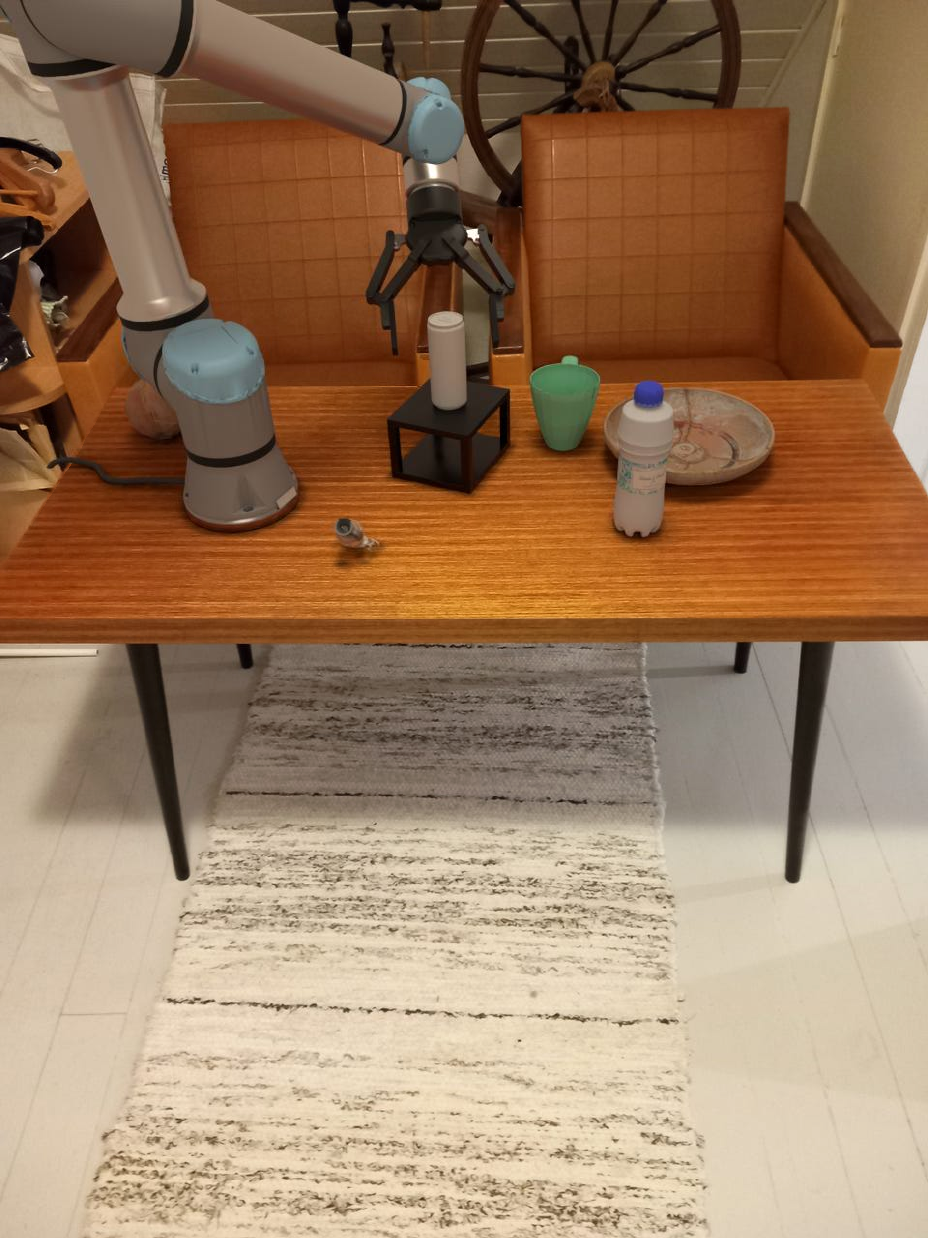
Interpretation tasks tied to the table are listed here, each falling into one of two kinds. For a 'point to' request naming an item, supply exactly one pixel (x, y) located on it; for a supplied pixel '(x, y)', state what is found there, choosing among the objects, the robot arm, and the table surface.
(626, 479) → the bottle
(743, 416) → the ceramic bowl
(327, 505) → the table surface
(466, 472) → the rack
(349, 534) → the seashell
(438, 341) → the beverage can
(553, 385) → the mug
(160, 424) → the onion
